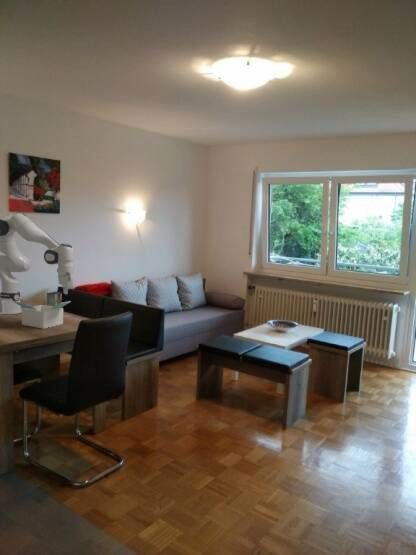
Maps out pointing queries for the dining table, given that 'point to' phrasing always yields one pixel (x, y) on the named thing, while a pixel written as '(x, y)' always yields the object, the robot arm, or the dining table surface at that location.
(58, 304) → the teal flap short
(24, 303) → the teal flap long
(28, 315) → the carton
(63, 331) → the dining table surface
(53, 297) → the coffee box
